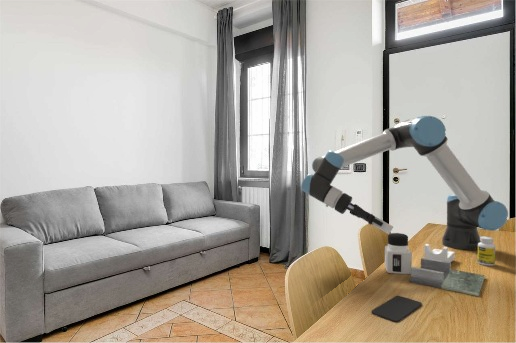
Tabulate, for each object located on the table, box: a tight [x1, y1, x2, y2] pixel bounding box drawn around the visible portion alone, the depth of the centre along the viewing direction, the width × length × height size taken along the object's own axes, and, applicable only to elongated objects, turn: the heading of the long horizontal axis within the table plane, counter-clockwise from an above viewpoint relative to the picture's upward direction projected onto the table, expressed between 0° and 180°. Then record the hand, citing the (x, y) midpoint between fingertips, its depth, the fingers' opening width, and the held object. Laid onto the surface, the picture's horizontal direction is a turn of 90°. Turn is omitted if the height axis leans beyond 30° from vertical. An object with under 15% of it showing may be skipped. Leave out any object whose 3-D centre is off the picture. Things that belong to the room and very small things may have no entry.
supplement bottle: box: [476, 236, 496, 267], centre depth 124 cm, size 5×5×10 cm
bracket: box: [423, 243, 456, 263], centre depth 126 cm, size 13×7×8 cm, turn 137°
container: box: [384, 232, 413, 275], centre depth 118 cm, size 8×8×13 cm
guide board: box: [409, 257, 486, 297], centre depth 109 cm, size 18×18×4 cm
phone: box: [371, 295, 423, 323], centre depth 89 cm, size 7×1×15 cm
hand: (391, 230), depth 120 cm, fingers open, 13 cm apart
